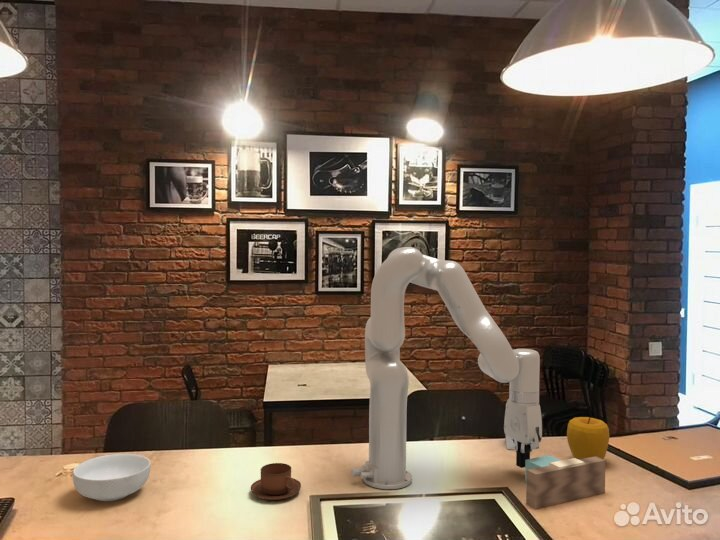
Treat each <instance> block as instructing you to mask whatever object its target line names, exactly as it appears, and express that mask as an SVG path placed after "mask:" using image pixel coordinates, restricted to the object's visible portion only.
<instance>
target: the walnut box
mask: <svg viewBox="0 0 720 540" xmlns="http://www.w3.org/2000/svg"><path fill="white" fill-rule="evenodd" d="M560 460H561V461H556V462H551V463H550V464H549V466H544V467H539V468H534V469H529V470H527V480H526V483H525V484H526V489H525V493H526V494H525V504H526V505H527V506H529V507H531V508H533V509H535V510H537V509H538V510H539V509H541V508H542V509H543V508H546V507H551V506H555V505H558V504H563V503H568V502H571V501H576V500H579V499H580V500H581V499H584V498H588V497H593V496H596V495H601V494H604V493H606V459H601V458H598V457H596V456H595V457H590V458H585V459H579V460H578V459H576V458H574V457H573V458H568V459H560Z"/></svg>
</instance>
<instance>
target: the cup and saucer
mask: <svg viewBox="0 0 720 540" xmlns="http://www.w3.org/2000/svg"><path fill="white" fill-rule="evenodd" d="M301 486H302V484H301V482H300V481H299V480H298V479H296V478H294V477H292V466H291V465H289V464H287V463H282V462H273V463H268V464H265V465H262V467H260V479H258V480H255V481H254V482H253V483H252V484H251V485H250V492H251V493H252V495H254V496H255V497H257V498H259V499H263V500H268V501H279V500H284V499H288V498H291V497H293V496H295V495H296V494H297V493H298V492H299V491H300V490H301V488H302V487H301Z"/></svg>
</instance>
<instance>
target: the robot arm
mask: <svg viewBox="0 0 720 540" xmlns="http://www.w3.org/2000/svg"><path fill="white" fill-rule="evenodd" d="M410 283H411V284H414V285H417V286H419V287H423V288H426V289H431V290H433V291H437V292H438V295H439V296H440V298H441V300H442V301H443V302H444V305H445V306H446V308H447V310H448V312H449V314H450V316H451V318H452V320H453V321H454V323H455V324H456V326H457V328H458V329H459V330H460V331H461V332H462V333H463V334H464V335H465V336H467V338H468V339H469V340H470V341H471V342H472V343H473V344H474V346H475V347H476V348H477V350H478V351H479V355H478V356H477V365H478V367H479V369H480V370H481V372H482V373H484V374H485V375H487V376H489V377H490V378H492V379H493V380H495V381H497V382H498V383H502V384H506V383H508V384H509V390H508V392H509V395H508V396H509V398H508V399H507V400H506V403H505V411H504V422H503V423H504V424H503V430H504V431H503V432H504V435H505V436H506V435H507V436H508V437H509V438H510V439H511V440H512V441H513V442H514V445H515V452H516V455H515V457H516V458H515V461H516V463H515V466H517V467H518V468H525V460H527V459H531V452H532V451H533V450H534V451H535V450H539V449H540V443H541V442H542V440H543V439H542V437H543V421H542V420H543V419H542V412H541V411H542V410H541V405H540V368H541V367H540V366H541V364H540V363H541V360H540V359H541V358H540V357H541V356H540V354H539V353H540V352H538V351H537V350H534V349H531V348H516V349H515V348H514V349H513V348H512V345H511V344H510V343H509V340H508V339H507V337H506V335H505V334H504V333H503V331H502V330H501V329H500V327H499V326H498V325H497V323H496V322H495V320H494V319H493V317H492V316H491V314H490V313H489V312H488V311H487V309H486V307H485V304H483V302H482V300H481V298H480V296H479V295H478V292H476V289H475V288H474V285H473V284H472V282H471V280H470V278H469V276H468V275H467V273H466V271H465V269H464V268H463V266H461V264H459V263H458V262H456V261H454V260H444V259H439V258H436V257H433V256H429V255H426V254H423V252H421V251H420V250H419V249H417V248H415V247H413V246H403V247H398V248H395V249H393V250H392V251H391V252H389V254H388V256H387V258H386V259H384V261H383V262H382V263H381V265H379V268H378V269H377V270H376V272H375V274H374V277H373V279H372V283H371V290H370V317H369V318H368V319H367V321H366V323H365V328H364V329H365V330H364V355H365V358H364V361H365V362H364V363H365V372H366V376H367V378H368V380H369V384H370V385H369V387H370V388H369V391H370V393H369V405H368V407H369V408H368V409H369V411H368V412H369V413H368V416H369V417H368V425H369V426H368V428H369V429H368V437H369V438H368V461H367V460H365V464H364V465H362V467H354V468H351V470H350V473H351V476H352V477H358V476H360V479H362V481H363V482H364V484H366V485H367V486H369V487H372V488H376V489H379V490H397V489H401V488H406V487H407V486H410V484H412V481H413V475H412V474H411V472H410V471H408V470H407V414H408V413H407V411H408V410H407V406H408V404H407V403H408V394H409V381H410V380H409V373H408V370H407V367H405V365H404V363H403V362H402V361H401V357H400V356H401V351H400V349H401V347H402V346H403V344H404V341H405V338H406V329H405V328H406V327H405V308H404V306H405V294H406V290H407V287H408V285H409V284H410Z"/></svg>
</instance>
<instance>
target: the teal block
mask: <svg viewBox="0 0 720 540" xmlns="http://www.w3.org/2000/svg"><path fill="white" fill-rule="evenodd" d="M561 460H562V459H559V458H556V457H554V456H553V455H549V454H546V455H542V456H537V457H534V458H530V459H527V460H525V467H524V469H525V470H524V471H525V473H524V480H525V481H524V483H525V484H526V480H527V470H529V469H534V468H539V467H544V466H549V464H550V463H551V462H556V461H561Z"/></svg>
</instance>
